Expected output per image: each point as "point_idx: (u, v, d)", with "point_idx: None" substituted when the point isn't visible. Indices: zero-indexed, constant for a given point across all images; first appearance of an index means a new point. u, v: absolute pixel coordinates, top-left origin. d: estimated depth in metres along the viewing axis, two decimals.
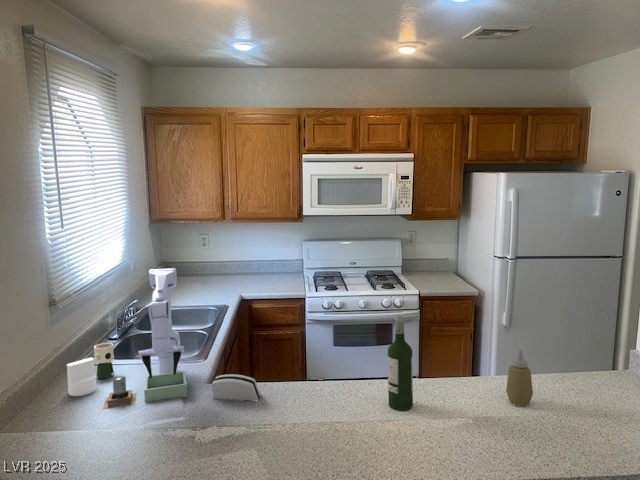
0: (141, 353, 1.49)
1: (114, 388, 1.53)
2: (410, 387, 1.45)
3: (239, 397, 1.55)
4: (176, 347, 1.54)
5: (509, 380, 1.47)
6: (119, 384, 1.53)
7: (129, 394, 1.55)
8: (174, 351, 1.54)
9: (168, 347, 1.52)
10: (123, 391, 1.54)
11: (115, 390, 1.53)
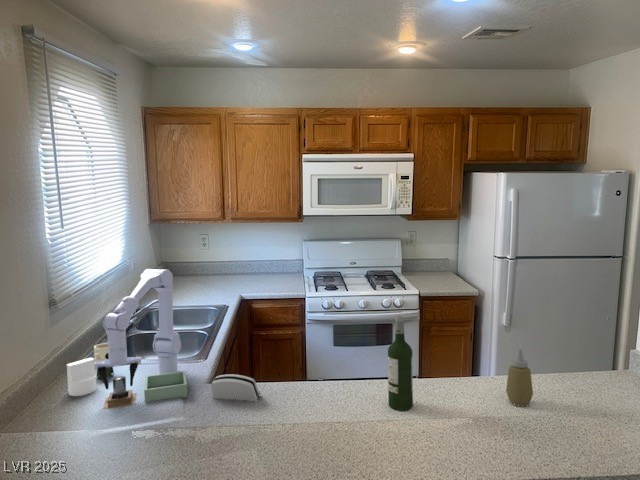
0: (97, 364, 1.51)
1: (114, 388, 1.53)
2: (410, 387, 1.45)
3: (239, 397, 1.55)
4: (133, 358, 1.55)
5: (509, 380, 1.47)
6: (119, 384, 1.53)
7: (129, 394, 1.55)
8: (131, 362, 1.55)
9: (124, 358, 1.53)
10: (123, 391, 1.54)
11: (115, 390, 1.53)
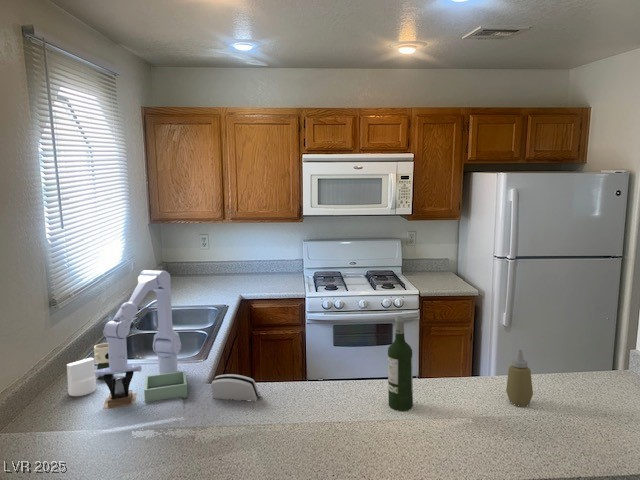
0: (97, 372, 1.51)
1: (114, 388, 1.53)
2: (410, 387, 1.45)
3: (239, 397, 1.55)
4: (133, 366, 1.56)
5: (509, 380, 1.47)
6: (119, 384, 1.53)
7: (129, 394, 1.55)
8: (131, 370, 1.55)
9: (125, 366, 1.53)
10: (123, 391, 1.54)
11: (115, 390, 1.53)
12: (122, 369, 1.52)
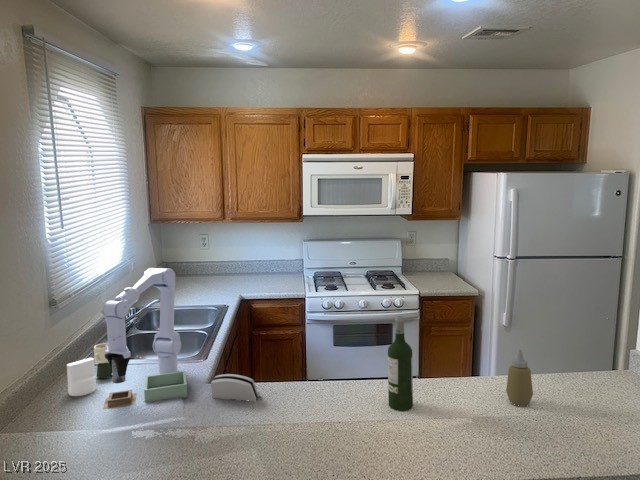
0: (106, 346, 1.57)
1: None
2: (410, 387, 1.45)
3: (238, 397, 1.55)
4: (123, 351, 1.50)
5: (509, 380, 1.47)
6: (112, 364, 1.52)
7: (129, 394, 1.55)
8: (122, 354, 1.51)
9: (115, 348, 1.51)
10: (116, 372, 1.52)
11: None
12: (111, 350, 1.51)
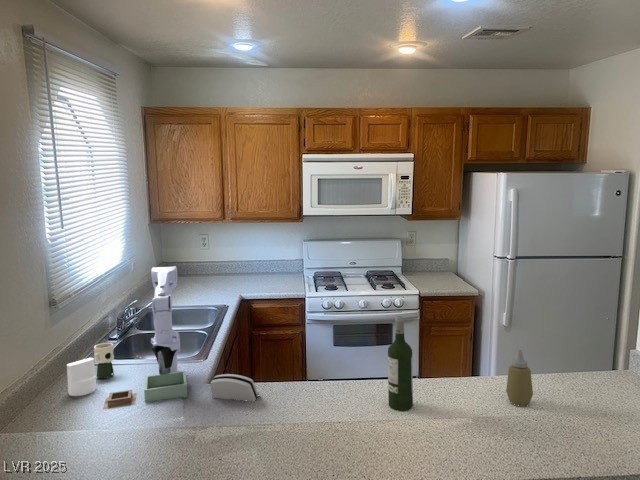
0: (152, 339, 1.65)
1: None
2: (410, 387, 1.45)
3: (237, 397, 1.55)
4: (170, 343, 1.58)
5: (509, 380, 1.47)
6: (158, 356, 1.60)
7: (129, 394, 1.55)
8: (169, 347, 1.59)
9: (162, 341, 1.59)
10: (162, 364, 1.60)
11: None
12: (159, 343, 1.59)
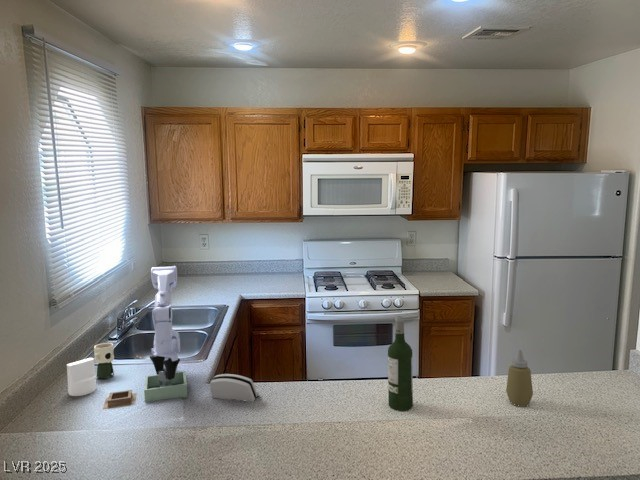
0: (152, 349, 1.65)
1: None
2: (410, 387, 1.45)
3: (237, 397, 1.55)
4: (171, 354, 1.58)
5: (509, 380, 1.47)
6: (159, 375, 1.61)
7: (129, 394, 1.55)
8: (170, 357, 1.59)
9: (163, 351, 1.59)
10: (163, 383, 1.60)
11: None
12: (159, 353, 1.59)
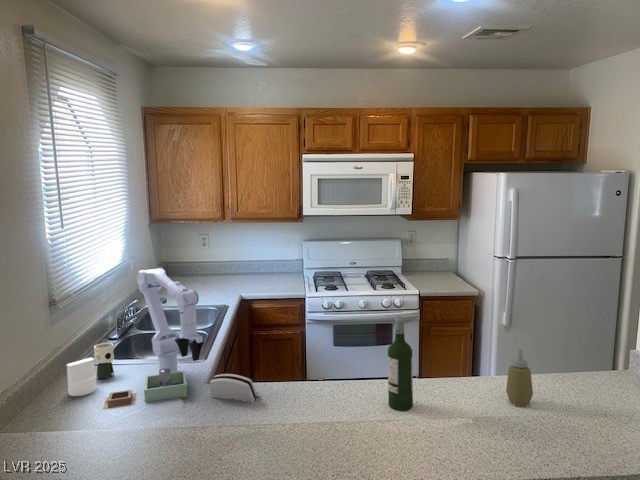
0: (177, 333, 1.72)
1: None
2: (410, 387, 1.45)
3: (236, 397, 1.55)
4: (196, 336, 1.66)
5: (509, 380, 1.47)
6: (159, 375, 1.61)
7: (129, 394, 1.55)
8: (195, 339, 1.66)
9: (188, 334, 1.66)
10: (163, 384, 1.60)
11: None
12: (185, 335, 1.66)
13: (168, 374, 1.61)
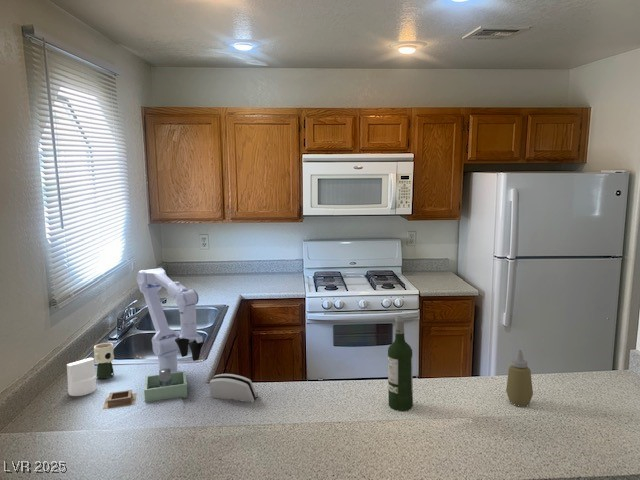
0: (177, 333, 1.72)
1: None
2: (410, 387, 1.45)
3: (236, 397, 1.55)
4: (196, 336, 1.66)
5: (509, 380, 1.47)
6: (160, 375, 1.61)
7: (129, 394, 1.55)
8: (195, 339, 1.66)
9: (188, 334, 1.66)
10: (163, 384, 1.60)
11: None
12: (185, 335, 1.66)
13: (168, 374, 1.61)
